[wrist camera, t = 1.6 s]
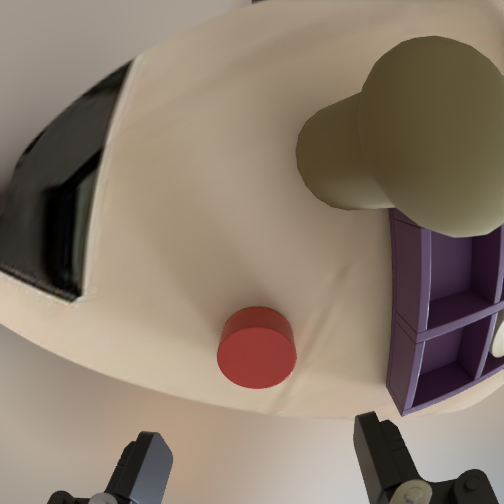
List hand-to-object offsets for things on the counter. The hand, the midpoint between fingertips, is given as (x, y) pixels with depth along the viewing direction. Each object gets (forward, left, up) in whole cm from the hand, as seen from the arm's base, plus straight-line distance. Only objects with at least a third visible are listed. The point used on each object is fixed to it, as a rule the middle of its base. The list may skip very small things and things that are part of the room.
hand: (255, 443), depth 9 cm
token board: (0, +19, -8) cm, 21 cm away
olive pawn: (-10, +7, -8) cm, 15 cm away
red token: (0, 0, -8) cm, 8 cm away
